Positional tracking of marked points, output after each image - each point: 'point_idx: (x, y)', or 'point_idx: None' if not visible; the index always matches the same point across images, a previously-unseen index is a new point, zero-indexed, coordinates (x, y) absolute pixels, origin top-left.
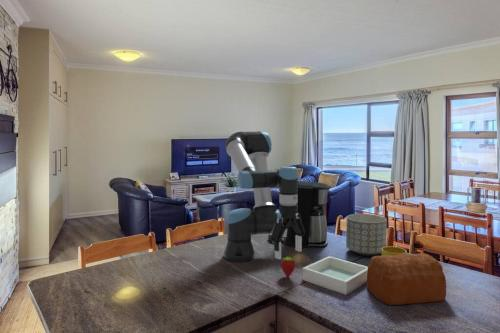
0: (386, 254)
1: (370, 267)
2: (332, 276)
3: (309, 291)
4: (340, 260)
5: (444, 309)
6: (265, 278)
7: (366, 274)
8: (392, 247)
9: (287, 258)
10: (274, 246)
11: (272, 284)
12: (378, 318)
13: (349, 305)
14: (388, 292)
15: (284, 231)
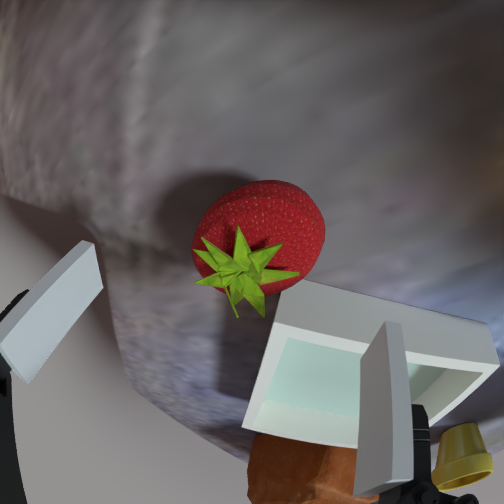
0: (442, 477)
1: (304, 480)
2: (257, 408)
3: (198, 320)
4: (449, 403)
5: None
6: (173, 98)
7: None
8: (488, 472)
9: (243, 266)
10: (2, 315)
11: (142, 174)
12: (195, 419)
13: (203, 395)
14: (249, 459)
15: (21, 493)
